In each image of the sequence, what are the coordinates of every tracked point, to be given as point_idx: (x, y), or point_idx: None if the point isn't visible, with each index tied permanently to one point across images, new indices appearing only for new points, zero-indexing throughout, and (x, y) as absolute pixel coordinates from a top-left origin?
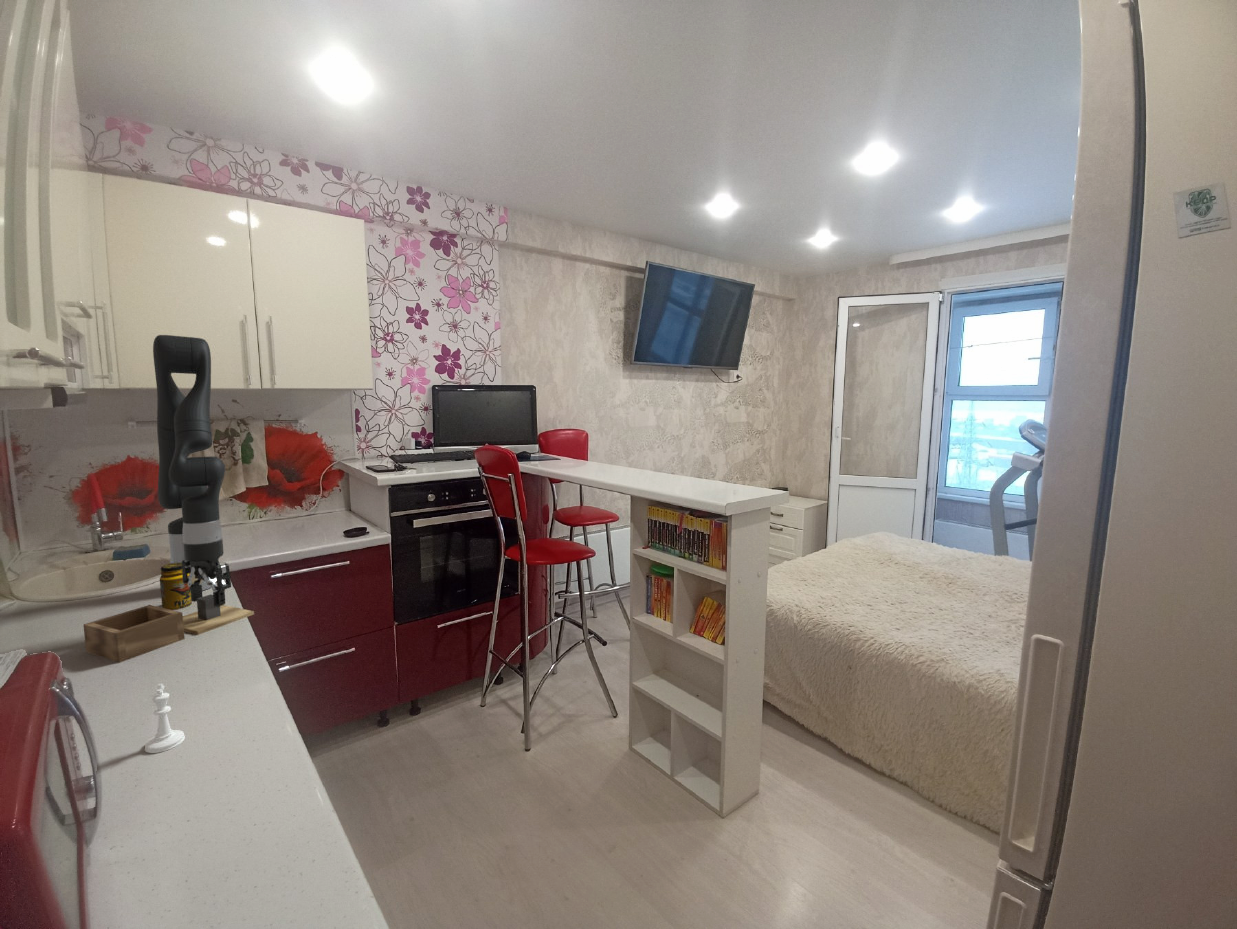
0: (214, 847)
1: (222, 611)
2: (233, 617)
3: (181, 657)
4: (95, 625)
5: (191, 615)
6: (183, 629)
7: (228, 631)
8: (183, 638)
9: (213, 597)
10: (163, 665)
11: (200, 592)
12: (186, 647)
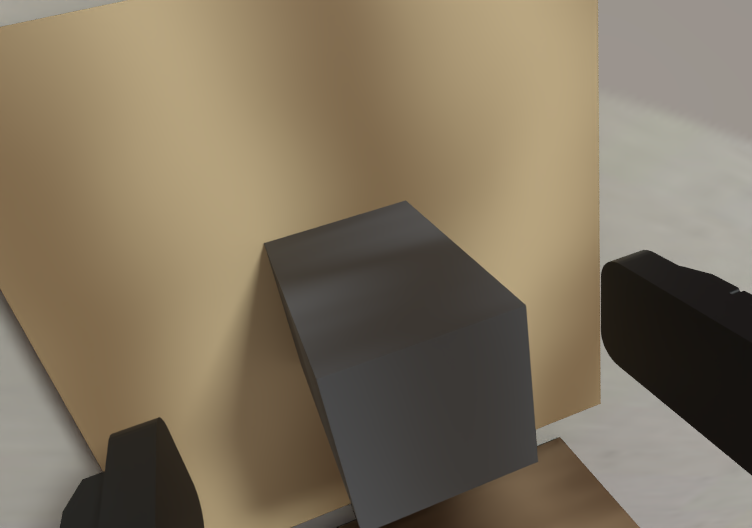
0: None
1: (283, 144)
2: (571, 135)
3: (721, 459)
4: None
5: (144, 397)
6: (617, 505)
7: (643, 210)
8: (575, 460)
9: (697, 427)
10: (722, 515)
11: (171, 517)
12: (636, 435)
